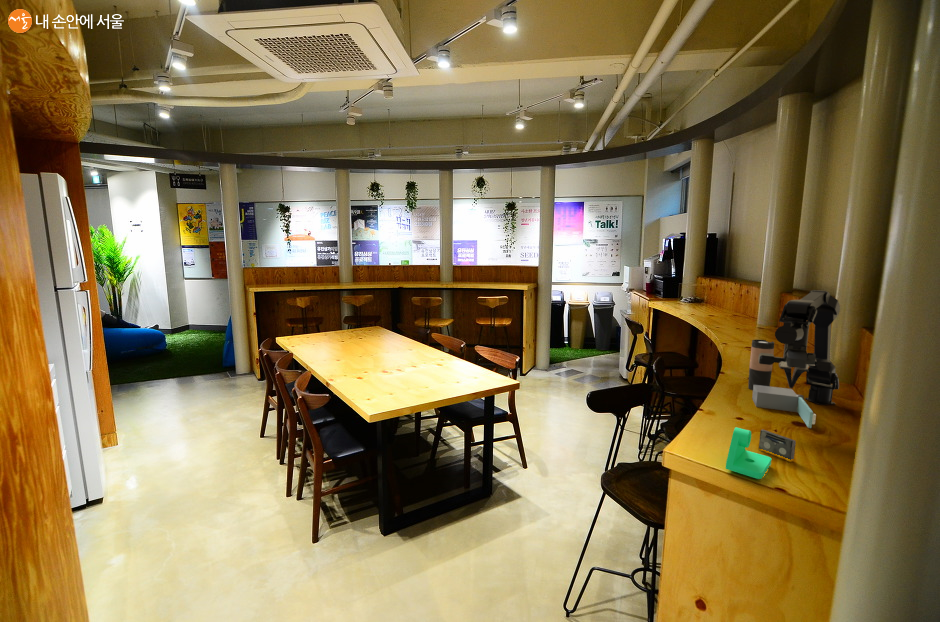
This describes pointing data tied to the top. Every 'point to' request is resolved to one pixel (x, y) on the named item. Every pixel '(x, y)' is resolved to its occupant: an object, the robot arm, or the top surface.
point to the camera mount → (745, 456)
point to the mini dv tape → (777, 444)
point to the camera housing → (775, 398)
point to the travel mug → (757, 371)
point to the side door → (806, 413)
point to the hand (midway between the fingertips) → (790, 387)
